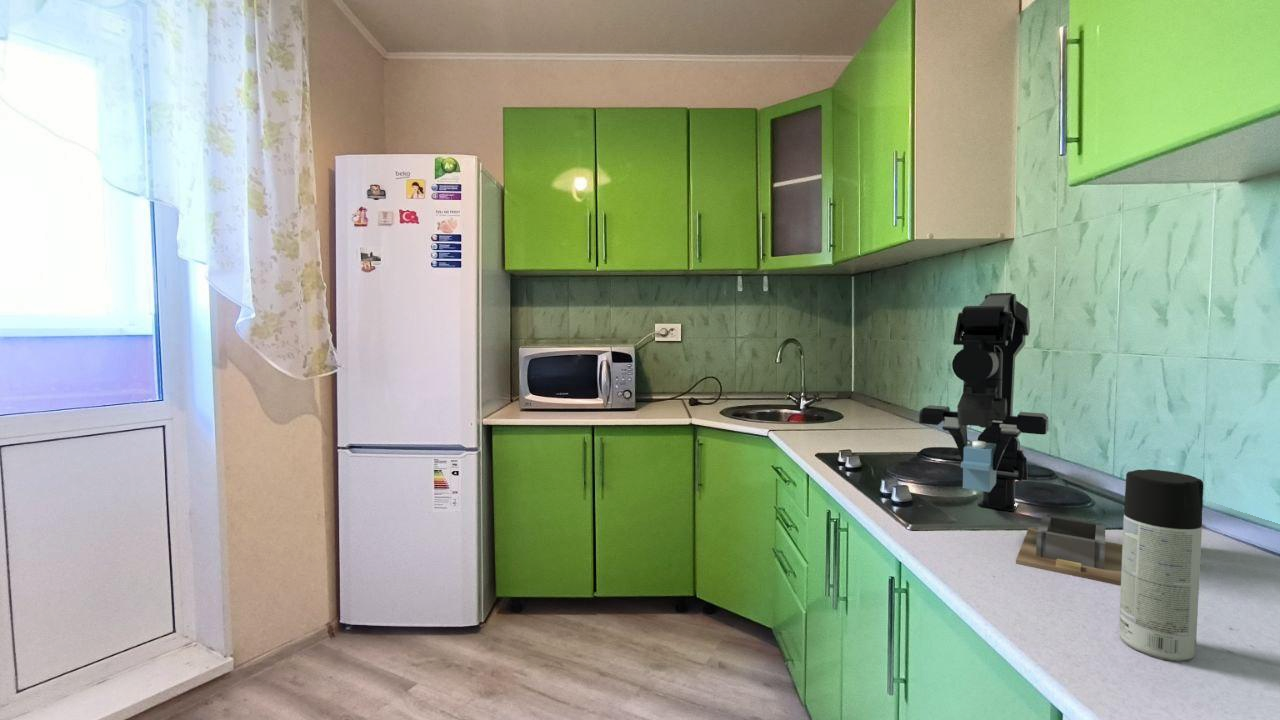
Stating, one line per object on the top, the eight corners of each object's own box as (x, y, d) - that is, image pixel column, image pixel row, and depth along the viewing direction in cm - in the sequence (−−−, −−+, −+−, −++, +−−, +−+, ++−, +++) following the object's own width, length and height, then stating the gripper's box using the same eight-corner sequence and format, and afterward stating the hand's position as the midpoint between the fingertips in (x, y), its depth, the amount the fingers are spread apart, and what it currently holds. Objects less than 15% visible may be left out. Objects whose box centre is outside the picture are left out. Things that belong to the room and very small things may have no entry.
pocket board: (1028, 531, 105) (1029, 506, 104) (1122, 548, 97) (1123, 521, 96) (1015, 563, 91) (1016, 534, 90) (1124, 586, 83) (1125, 554, 82)
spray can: (1211, 657, 65) (1220, 480, 64) (1168, 668, 63) (1177, 485, 62) (1144, 628, 71) (1151, 466, 70) (1103, 636, 69) (1110, 470, 68)
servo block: (972, 477, 107) (973, 434, 106) (998, 480, 104) (999, 436, 104) (959, 491, 98) (961, 444, 97) (987, 495, 95) (988, 446, 95)
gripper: (912, 379, 100) (910, 469, 101) (1044, 385, 88) (1040, 487, 89) (927, 374, 108) (925, 457, 109) (1050, 380, 97) (1047, 473, 98)
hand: (980, 468), depth 101 cm, fingers closed on servo block, 4 cm apart
